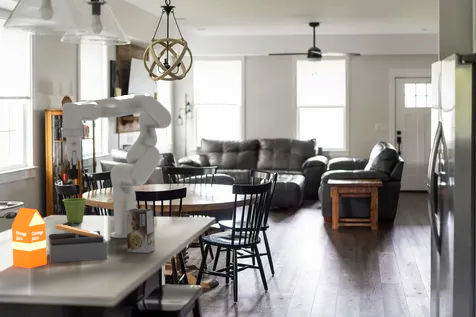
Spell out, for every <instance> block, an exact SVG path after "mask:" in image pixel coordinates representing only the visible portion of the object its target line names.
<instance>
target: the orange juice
mask: <svg viewBox="0 0 476 317" xmlns="http://www.w3.org/2000/svg"><path fill="white" fill-rule="evenodd" d="M46 233H47V230H46V222H45V221H44V219H43V217H42V216H41V215H40V213H39V211H38V210H37V209H34V208H23V207H19V210H18V212H17V214H16V216H15V218H14V220H13V222H12V224H11V236H12V237H11V238H12V239H11V240H12V241H11V242H12V243H11V244H12V265H13V266H14V265H16V266H15V267H22V268H28V269H32V267H33V268H36V267H40V266H44V265H47V262H48V260H47V258H48V257H47V236H46V235H47V234H46Z"/></svg>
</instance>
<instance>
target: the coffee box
mask: <svg viewBox="0 0 476 317" xmlns="http://www.w3.org/2000/svg"><path fill="white" fill-rule="evenodd" d="M154 211H155V210H154V208H136V209H131V210H128V211H126V222H127V238H126V246H127V247H126V248H127V251H126V252H127V253H143V254H144V253H145V254H146V253H147V254H149V253H151V252H153V251H155V250H156V247H155V246H156V245H155V216H154V214H155V212H154Z"/></svg>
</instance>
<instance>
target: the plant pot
mask: <svg viewBox="0 0 476 317" xmlns="http://www.w3.org/2000/svg"><path fill="white" fill-rule="evenodd" d="M87 201H88V199H87V198H64V199H62V202H63V205H64V208H65V209H64V210H65V213H66V214H65V215H66V220H67V223H68V224H75V223H78V224H79V223H82V222H84V221H83V220H84V214H85V208H86V204H87Z"/></svg>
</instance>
